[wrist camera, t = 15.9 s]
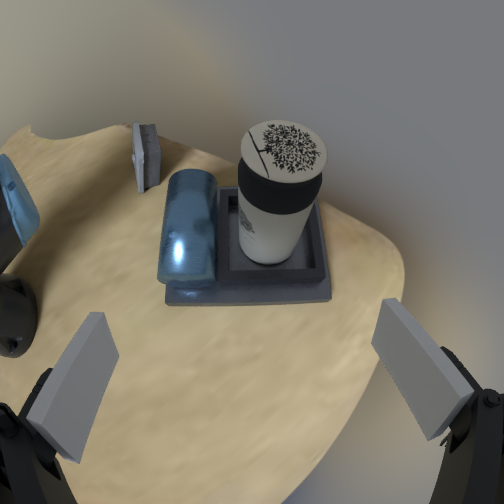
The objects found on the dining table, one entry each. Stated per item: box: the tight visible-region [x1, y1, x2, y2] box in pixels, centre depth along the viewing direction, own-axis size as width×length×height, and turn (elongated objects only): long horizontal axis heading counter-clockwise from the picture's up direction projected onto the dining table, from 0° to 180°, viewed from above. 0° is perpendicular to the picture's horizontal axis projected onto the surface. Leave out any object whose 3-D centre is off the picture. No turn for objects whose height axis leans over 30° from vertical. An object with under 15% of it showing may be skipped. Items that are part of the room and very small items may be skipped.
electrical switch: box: [132, 122, 161, 193], centre depth 41 cm, size 9×5×9 cm, turn 21°
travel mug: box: [238, 120, 328, 265], centre depth 30 cm, size 8×8×18 cm
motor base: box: [157, 169, 332, 306], centre depth 36 cm, size 22×18×9 cm
